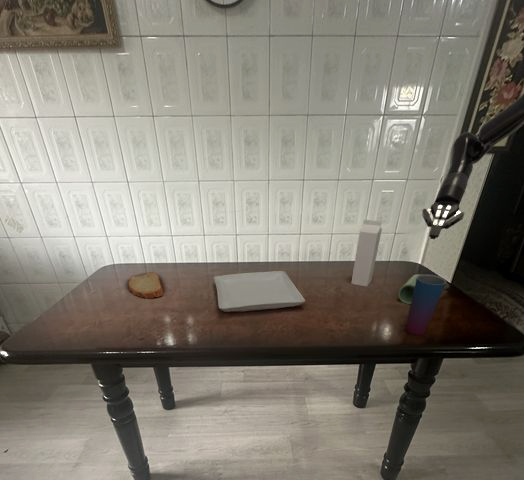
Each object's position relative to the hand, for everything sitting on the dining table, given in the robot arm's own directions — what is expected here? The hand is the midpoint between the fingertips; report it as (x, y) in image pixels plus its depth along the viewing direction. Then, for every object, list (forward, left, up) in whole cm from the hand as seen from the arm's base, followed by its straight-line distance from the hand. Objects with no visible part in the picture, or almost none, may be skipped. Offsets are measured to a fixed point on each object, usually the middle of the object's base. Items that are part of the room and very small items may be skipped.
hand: (432, 237), depth 99 cm
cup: (0, +33, -18) cm, 37 cm away
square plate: (+51, +31, -18) cm, 62 cm away
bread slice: (+91, +40, -18) cm, 100 cm away
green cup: (0, +5, -14) cm, 15 cm away
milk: (+20, +4, -18) cm, 27 cm away
